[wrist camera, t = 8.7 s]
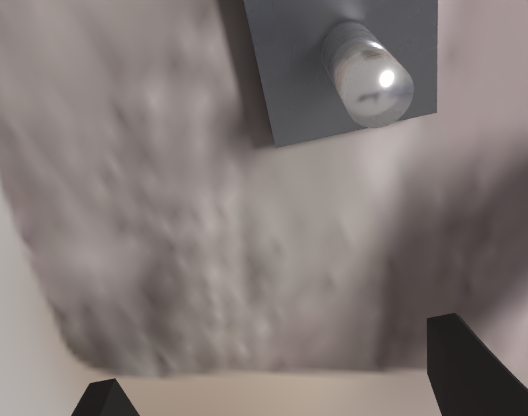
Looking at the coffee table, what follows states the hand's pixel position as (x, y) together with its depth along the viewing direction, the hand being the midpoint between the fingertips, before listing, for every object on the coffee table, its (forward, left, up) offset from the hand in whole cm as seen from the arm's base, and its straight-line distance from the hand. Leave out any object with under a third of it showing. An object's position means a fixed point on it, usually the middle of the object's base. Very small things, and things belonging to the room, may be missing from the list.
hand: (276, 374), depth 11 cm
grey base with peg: (-4, -4, -10) cm, 11 cm away
